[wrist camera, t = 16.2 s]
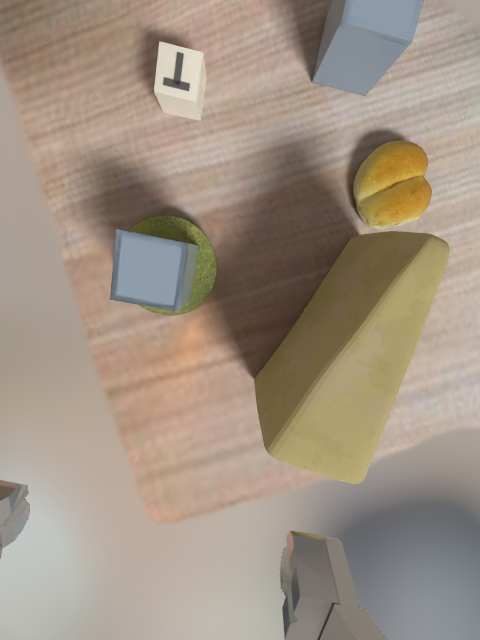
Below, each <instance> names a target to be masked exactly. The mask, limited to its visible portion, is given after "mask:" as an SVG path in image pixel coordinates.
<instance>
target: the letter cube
mask: <svg viewBox="0 0 480 640" xmlns="http://www.w3.org/2000/svg"><path fill="white" fill-rule="evenodd" d="M206 79H207V77H206V70H205V62H204V54H203V52H199V51H195V50H191V49H187V48H183V47H180V46H176V45H172V44H168V43H164V42H160V41H159V49H158V59H157V68H156V77H155V86H154V93H155V95H156V97H157V99H158V101H159V104H160V106H161V108H162V110H163V112H165V113H169V114H174V115H178V116H182V117H186V118H190V119H195V120H199V121H201V114H202V107H203V100H204V93H205V86H206Z"/></svg>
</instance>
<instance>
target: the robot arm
mask: <svg viewBox="0 0 480 640" xmlns="http://www.w3.org/2000/svg"><path fill="white" fill-rule="evenodd" d="M27 495H28V487H27V485H23V484H18V483H13V482H7V481H3V480H0V558H1V553H2V548H4V547H5V546H7V545H8V544H10V543H11V542H13V541H14V540H15V539H16V538H17V537H18V535H19V534H20V533H21V531H22V530H23V528H24V526H25V524H26V522H27V520H28V517H29V513H30V504H29V503H28V502H27V501H26V499H25V497H26V496H27ZM280 579H281V589H282V591H283V592H284V594H285V596H286V598H285V601H284V604H283V607H282V609H283V623H284V637H285V640H387V638H386V637H385V635H384V634H383V633H382V631H381V630H380V629H379V627H378V626H377V625H376V623H375V622H374V620H373V619H372V618H371V616H370V615H369V613H368V612H367V611H366V610H365V609H361V608H360V606H359V602H358V599H357V595H356V591H355V588H354V584H353V581H352V577H351V574H350V570H349V566H348V563H347V560H346V556H345V552H344V549H343V545H342V543H341V541H340V540H339V539H336V538H330V537H323V536H321V535H315V534H308V533H302V532H295V531H290V532H289V533H288V536H287V547H286V548H284V549H283V553H282V557H281V566H280Z"/></svg>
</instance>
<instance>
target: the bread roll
mask: <svg viewBox="0 0 480 640" xmlns="http://www.w3.org/2000/svg"><path fill="white" fill-rule="evenodd" d="M427 166H428V158H427V156H426V154H425V152H424V150H423V149H422V148H421V147H420V146H418V145H417V144H415V143H412V142H408V141H391V142H388V143H385V144H383V145H381V146H379V147H378V148H377V149H375V150H374V151H373V152H372V153H371V154H370V155H369V156H368V157H367V158H366V159H365V160H364V161H363V163H362V164H361V166H360V168H359V169H358V171H357V174H356V176H355V180H354V186H353V194H354V198H355V201H356V207H357V211H358V214H359V216H360V217H361V219H362V220H363V221H364V223H365V224H366V225H367V226H369V227H371V228H374V229H377V230H382V229H387V228H392V227H394V226H399V225H402V224H404V223H408V222H412V221H417V220H418V218H419V217H420V216H421V215H422V214H423V213H424V211H425V210H426V208H427V207H428V205H429V203H430V199H431V194H432V189H431V187H430V185H429V183H428V182H427V180H426V179H425V178H424V175H425V172H426V169H427Z"/></svg>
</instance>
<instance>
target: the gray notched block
mask: <svg viewBox="0 0 480 640" xmlns="http://www.w3.org/2000/svg"><path fill="white" fill-rule="evenodd" d="M423 1H424V0H333V1H332V3H331V6H330V8H329V11H328V13H327V16H326V21H325V25H324V30H323V34H322V39H321V43H320V48H319V53H318V57H317V62H316V66H315V71H314V75H313V80H312V82H313V83H317V84H321V85H325V86H329V87H332V88H336V89H340V90H344V91H348V92H352V93H356V94H360V95H364V96H366V95H367V93H368V92H369V91H370V90H371V89H372V88H373V86H374V85H375V84H376V83H377V82H378V81H379V79H380V78H381V77H382V76H383V75H384V74H385V73H386V71H387V70H388V69H389V68H390V67H391V66H392V64H393V63H394V62H395V61H396V60H397V59H398V57H399V56H400V55H401V54H402V53H403V52H404V50H405V49H406V48H407V47H408V46H409V45H410V44H411V42H412V40H413V37H414V33H415V30H416V26H417V23H418V19H419V15H420V12H421V8H422V5H423Z"/></svg>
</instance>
